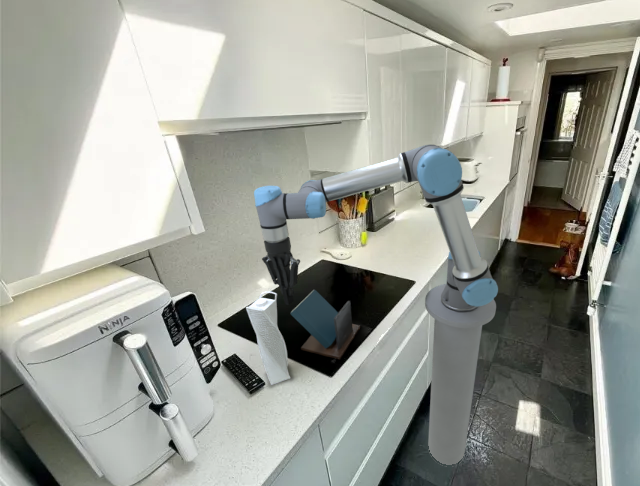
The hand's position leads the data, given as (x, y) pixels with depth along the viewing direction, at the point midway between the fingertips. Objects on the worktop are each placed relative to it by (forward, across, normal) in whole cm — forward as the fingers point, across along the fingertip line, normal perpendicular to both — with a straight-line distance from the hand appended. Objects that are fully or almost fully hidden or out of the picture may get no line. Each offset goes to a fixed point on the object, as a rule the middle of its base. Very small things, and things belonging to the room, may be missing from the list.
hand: (289, 302), depth 104 cm
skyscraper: (+12, -8, +19) cm, 24 cm away
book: (+10, -17, 0) cm, 20 cm away
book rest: (+12, -15, 0) cm, 19 cm away
